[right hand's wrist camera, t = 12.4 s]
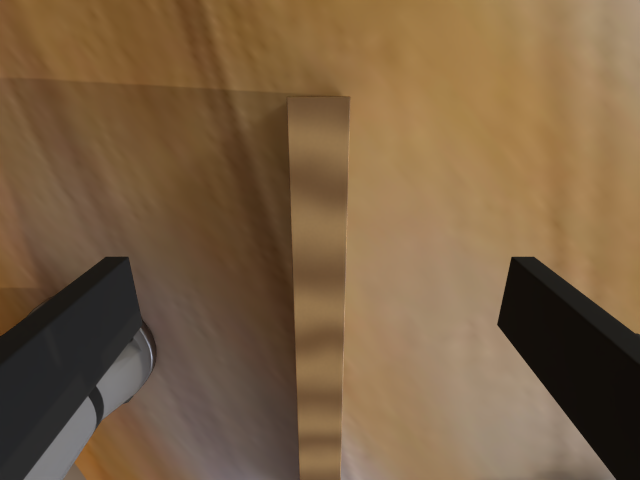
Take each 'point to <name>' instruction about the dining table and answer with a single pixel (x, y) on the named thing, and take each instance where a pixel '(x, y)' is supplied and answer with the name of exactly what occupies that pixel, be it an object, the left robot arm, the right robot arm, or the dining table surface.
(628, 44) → the dining table surface
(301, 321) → the post
